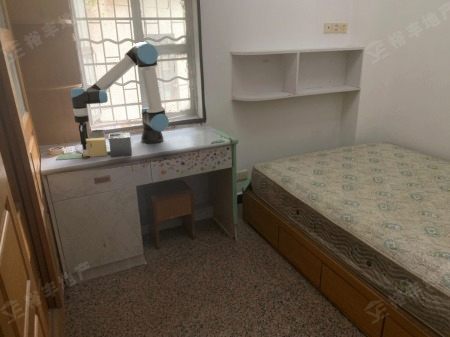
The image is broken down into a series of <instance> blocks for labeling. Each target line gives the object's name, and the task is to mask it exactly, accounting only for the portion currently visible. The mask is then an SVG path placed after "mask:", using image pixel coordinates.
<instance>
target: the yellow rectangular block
mask: <svg viewBox="0 0 450 337" xmlns="http://www.w3.org/2000/svg"><path fill="white" fill-rule="evenodd" d="M86 143H87V148H88V155H83V158H86V157H85V156H90V157H89V158H92V157H104V156H105V157H106V156H107V154H108V150H107V142H106V137H105V138H91V137H90V138H88V139H86Z"/></svg>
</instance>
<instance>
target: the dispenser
mask: <svg viewBox="0 0 450 337" xmlns="http://www.w3.org/2000/svg"><path fill="white" fill-rule="evenodd" d="M131 139H132V137H131V132H115V133H114V132H112V133H111V132H110V133H109V134H108V138H107V141H108V142H109V150H110V157H111V158H116V157H132V156H133V155H132V151H133V150H132V140H131ZM131 155H132V156H131Z"/></svg>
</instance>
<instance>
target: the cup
mask: <svg viewBox="0 0 450 337" xmlns="http://www.w3.org/2000/svg"><path fill="white" fill-rule="evenodd" d="M90 138H105V139H106V135H105V130H104V129H93V130H90Z"/></svg>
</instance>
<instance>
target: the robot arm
mask: <svg viewBox="0 0 450 337" xmlns="http://www.w3.org/2000/svg"><path fill="white" fill-rule="evenodd" d="M158 58H159V52H158V49H157V48H156V47H155V45H153V44H152V43H149V42H137V43H135V44H134V45H133V46H131V48H129V49H128V50H127V51H126V53H124V57H123V58H121V59H120V60H119V61H118V62H117V63H115V64H114V65H113V67H111V68H110V69H109V70H108V71H107V72H106V73H104V74H103V75H102V77H100V78H99V79H98V80H97V81H96V82H95V83H93V85H91V86H90V87H87V88H86V89H85V88H84V87H73V88H71V89H70V96H71V98H70V99H71V102H72V103H71V104H72V112H73V115H74V117H73V118H74V122H75V123H77V124H79V125H78V131H79V137H80V145H81V148H82V153H83V156H84V155H88V148H87V143H86V139H89V136H88V128H87V123H88V122H89V120H90V119H89V115H88V114H89V112H88V105H92V104H93V105H94V104H95V105H96V104H105V103H108V93H107V91H108V90H109V89H110V88H111V87H112V86H113V85H114V84H115V83H116V82H117V81H119V80H120V79H121V78H122V77H123V76H124V75H125V74H126V73H127V72H129V71H130V70H131V69H132V68H133V67H137V68H138V69H140V72H141V75H142V82H143V87H144V92H145V97H146V102H147V107H143V108H142V109H141V121H142V133H141V137H140V138H141V142H142V143H144V144H158V143H161V142H163V141H164V136H163V135H164V134H163V133H162V132H163V131H164V130H166V129H167V128H168V127H169V124H170V122H169V121H170V119H169V118H168V116H167V115H166V110H165V109H166V108H165V107H163V106H162V100H161V95H160V94H161V92H160V87H159V82H158V75H157V69H156V68H157V66H158Z"/></svg>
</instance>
